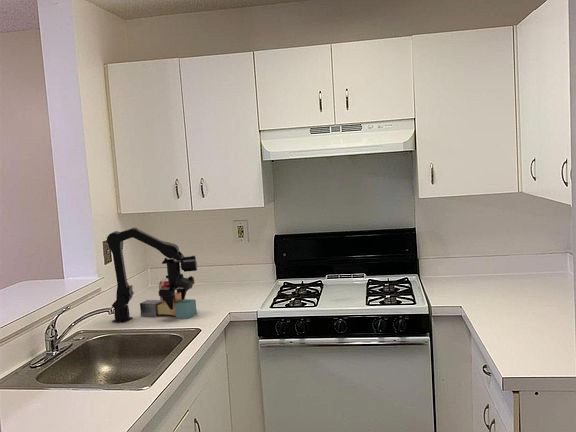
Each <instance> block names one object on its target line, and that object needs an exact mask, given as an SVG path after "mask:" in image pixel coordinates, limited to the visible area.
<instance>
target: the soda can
mask: <svg viewBox="0 0 576 432" xmlns="http://www.w3.org/2000/svg"><path fill="white" fill-rule="evenodd" d="M167 285H168V278H162V279H159V283H158V289H159V290H160V289H162V288H169V287H167ZM159 290H158V291H159ZM159 300H162V303H166V302H165V300H164V299H163V298H162V297H161V296H159Z"/></svg>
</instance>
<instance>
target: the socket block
mask: <svg viewBox="0 0 576 432" xmlns="http://www.w3.org/2000/svg"><path fill="white" fill-rule="evenodd" d="M197 314H198V313H197V301H196V299H193V298H192V299H191V298H190V299H189V298H188V299H186V298H185V299H183V300H181V301H179V302H177V303H175V315H174V316H175V319H185V320H186V319H187V320H189V318H192V317H194V315H197Z"/></svg>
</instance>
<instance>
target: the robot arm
mask: <svg viewBox="0 0 576 432" xmlns="http://www.w3.org/2000/svg"><path fill="white" fill-rule="evenodd" d="M132 238H133V239H136V240H137V241H140V242H141V243H143V244H145V245H147V246H150V247H151V248H153V249H156V250H158V252H160V253H161V254H162V256H164V259H163V261H162V262H161V264H162V265H166V270H167V271H166V272H167V274H166V275H165V279H168V285H167V287H169V288H162V289H160V290H158V296H159V297H160V296H161V297H162V298H163V299H164V300H165V302H166V303H167V305H168V307H169V308H170V310H173V298H174V296H175V295H174V294H175V293H176V292H181V299H182V300H183V299H186V295H187V292H188V291H189V290H190V289H193V285H194V284H195V277H194V276H188V277H184V274H183V273H181V270H182V271H183V272H184V273H185V272H196V271H198V262H197V258H196V255H188V256H185V255H184V254H183V253H182V252H181V251H180V248H179V246H178V245H177V244H175V243H171V242H170V241H169V242H168V241H164V240H160V239H158V238H157V237H155V236H153V235H151V234H148V233H146V232H144V231H143V230H140V229H138V228H137V227H132V228H129V229H126V230H123V231H117V230H116V231H113V232H111V233H109V234H108V235H107V236H106V242H107V246H108V248H109V250H110V252H111V253H112V259H113V260H112V261H113V265H114V270H115V271H114V272H115V278H116V282H117V283H116V284H117V286H116V294H115V297H116V299H115V301H114V302H113V303H112V305H111V307H112V308H113V307H114V308H115V313H114V312H113V314H114V319H113V320H111V322H113V323H126V322H128V321H130V320H131V319H133V317H132V316H131V315H130V307H129V302H130V301H131V300H132V298H133V295H134V294H135V292H134V290H133V284H129V282H128V278H127V272H126V266H125V259H124V254H123V250H124V249H123V248H124V241H126V240H130V239H132Z"/></svg>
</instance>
